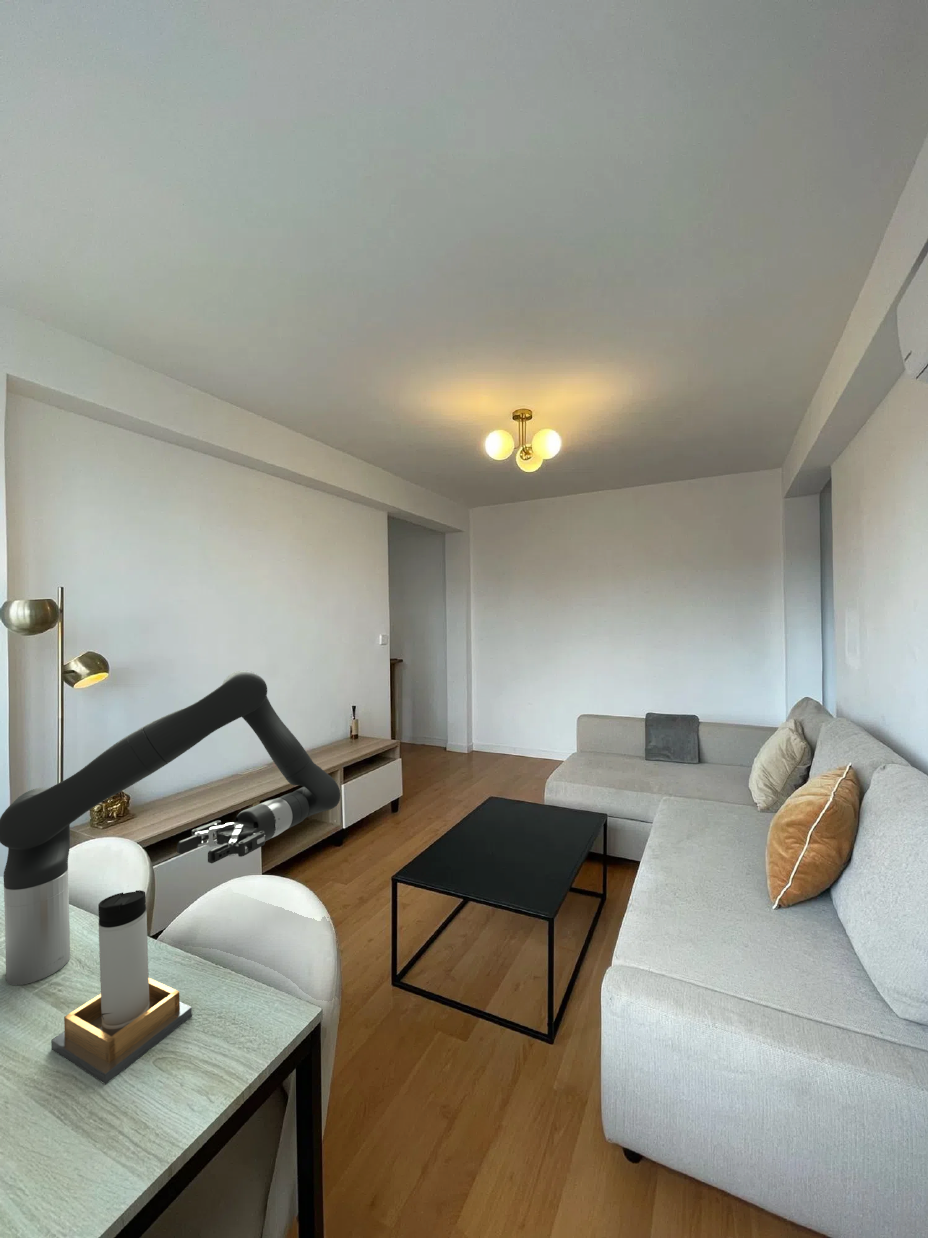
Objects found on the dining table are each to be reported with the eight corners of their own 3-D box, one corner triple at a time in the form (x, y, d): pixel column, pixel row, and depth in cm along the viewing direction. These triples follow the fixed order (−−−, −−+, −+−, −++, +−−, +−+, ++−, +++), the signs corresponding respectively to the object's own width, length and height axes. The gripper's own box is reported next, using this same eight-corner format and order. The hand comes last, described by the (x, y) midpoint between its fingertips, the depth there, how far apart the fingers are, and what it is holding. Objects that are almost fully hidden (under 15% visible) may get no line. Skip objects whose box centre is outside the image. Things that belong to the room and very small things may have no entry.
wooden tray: (51, 1050, 75) (50, 1020, 75) (139, 991, 87) (138, 965, 87) (105, 1084, 69) (104, 1052, 69) (191, 1016, 81) (191, 988, 81)
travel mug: (93, 1043, 74) (88, 910, 74) (112, 1010, 81) (108, 888, 81) (140, 1033, 76) (135, 903, 76) (155, 1001, 82) (151, 881, 82)
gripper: (240, 798, 108) (168, 826, 93) (289, 808, 102) (220, 839, 87) (240, 833, 108) (168, 866, 93) (289, 845, 101) (220, 882, 87)
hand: (193, 853), depth 90 cm, fingers open, 8 cm apart
